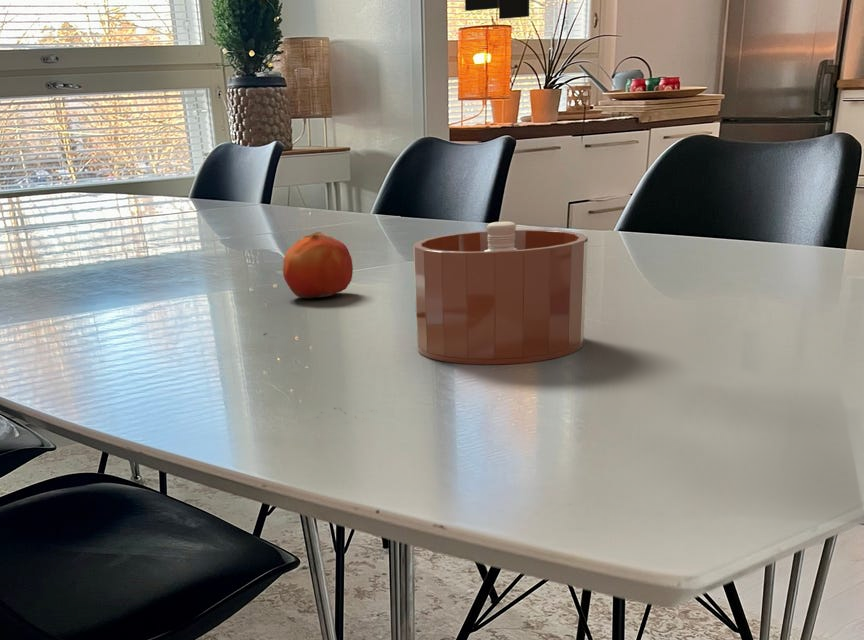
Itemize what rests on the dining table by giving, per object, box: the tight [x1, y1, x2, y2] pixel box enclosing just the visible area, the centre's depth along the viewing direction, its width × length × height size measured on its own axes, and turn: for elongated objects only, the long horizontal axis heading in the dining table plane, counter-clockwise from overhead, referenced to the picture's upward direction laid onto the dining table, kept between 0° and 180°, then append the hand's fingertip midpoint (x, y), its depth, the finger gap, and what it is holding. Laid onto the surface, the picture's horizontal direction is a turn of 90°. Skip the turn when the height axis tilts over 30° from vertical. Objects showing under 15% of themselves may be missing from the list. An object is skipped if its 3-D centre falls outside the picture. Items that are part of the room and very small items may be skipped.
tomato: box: [282, 231, 354, 299], centre depth 134 cm, size 9×9×8 cm
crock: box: [412, 229, 589, 366], centre depth 101 cm, size 17×17×10 cm
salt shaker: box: [485, 221, 517, 251], centre depth 101 cm, size 5×5×11 cm
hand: (499, 14), depth 90 cm, fingers open, 13 cm apart
